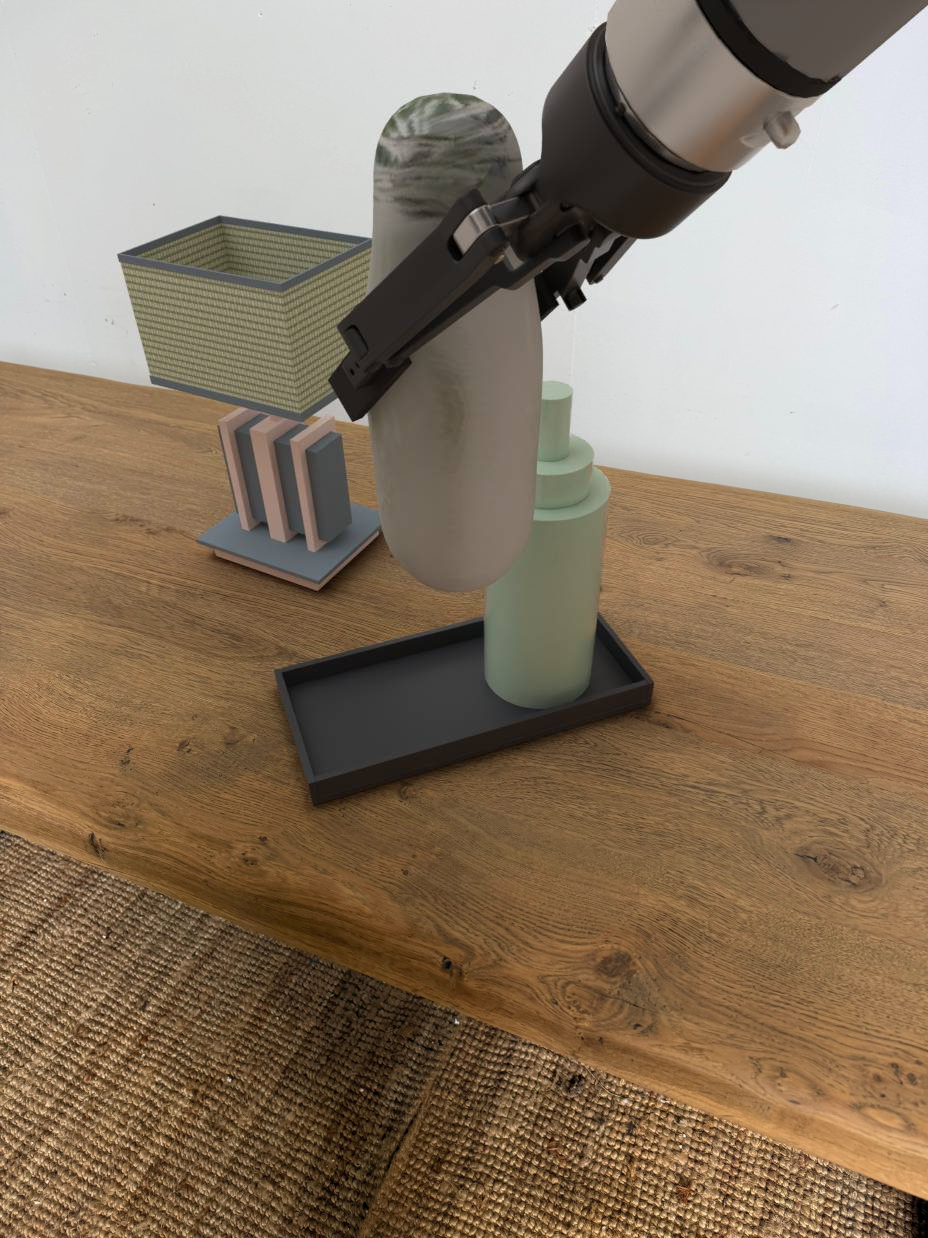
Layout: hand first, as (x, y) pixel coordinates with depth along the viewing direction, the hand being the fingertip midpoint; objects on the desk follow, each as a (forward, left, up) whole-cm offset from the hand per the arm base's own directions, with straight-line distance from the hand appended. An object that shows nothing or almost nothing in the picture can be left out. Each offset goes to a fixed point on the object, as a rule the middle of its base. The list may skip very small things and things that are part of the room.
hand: (419, 369), depth 51 cm
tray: (0, +7, -35) cm, 36 cm away
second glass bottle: (+6, +12, -34) cm, 37 cm away
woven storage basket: (-25, +26, -35) cm, 50 cm away
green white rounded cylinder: (+3, -2, -14) cm, 14 cm away
